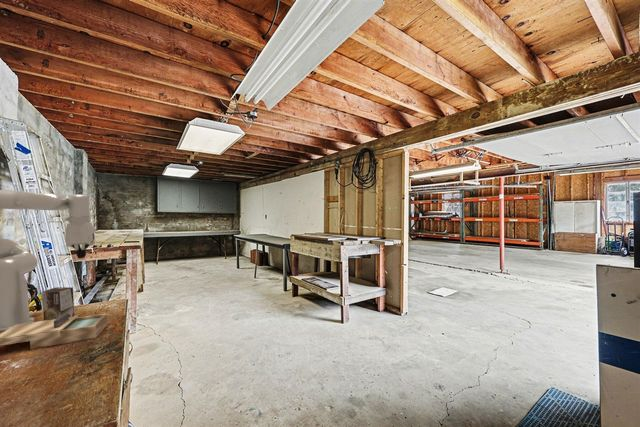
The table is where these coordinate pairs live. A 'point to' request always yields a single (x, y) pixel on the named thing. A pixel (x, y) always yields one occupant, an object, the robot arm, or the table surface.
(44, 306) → the coffee box
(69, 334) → the base
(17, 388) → the table surface
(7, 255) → the robot arm
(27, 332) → the light brown flat piece
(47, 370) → the table surface
